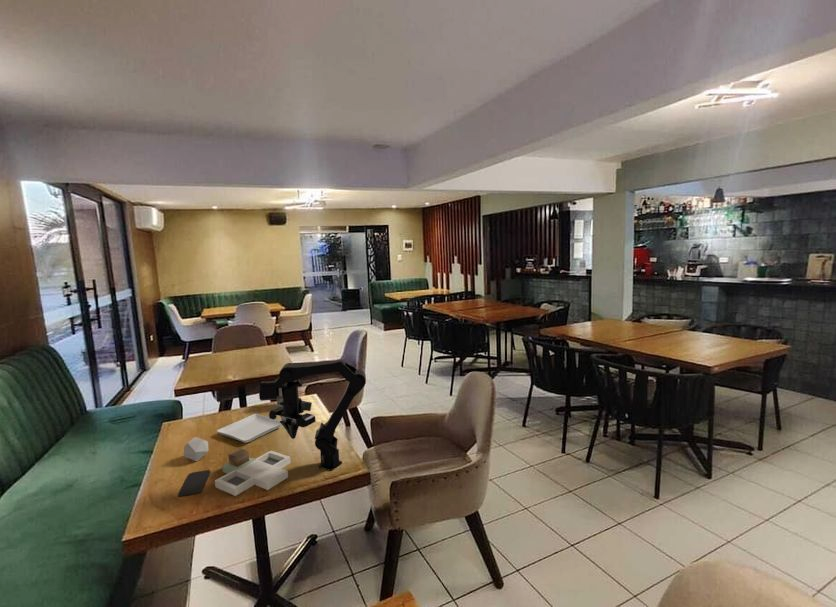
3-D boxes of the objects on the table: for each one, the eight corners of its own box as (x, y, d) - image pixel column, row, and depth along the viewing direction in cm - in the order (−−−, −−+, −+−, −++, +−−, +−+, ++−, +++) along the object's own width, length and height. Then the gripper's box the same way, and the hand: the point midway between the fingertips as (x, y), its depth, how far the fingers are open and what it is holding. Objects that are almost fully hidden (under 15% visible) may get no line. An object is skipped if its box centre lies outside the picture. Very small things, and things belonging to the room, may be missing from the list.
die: (214, 458, 164) (212, 433, 168) (197, 457, 156) (196, 431, 160) (196, 465, 164) (194, 440, 169) (178, 465, 156) (177, 439, 161)
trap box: (303, 467, 153) (303, 461, 153) (248, 502, 133) (248, 494, 132) (259, 452, 166) (259, 446, 165) (203, 481, 145) (202, 475, 145)
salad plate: (245, 447, 171) (244, 440, 171) (215, 437, 182) (215, 429, 182) (285, 428, 189) (285, 421, 188) (256, 419, 200) (255, 413, 199)
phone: (176, 496, 137) (189, 472, 151) (177, 498, 137) (189, 474, 151) (201, 492, 138) (211, 469, 153) (201, 494, 139) (211, 471, 153)
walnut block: (249, 460, 154) (248, 450, 154) (237, 467, 150) (236, 456, 150) (240, 457, 157) (240, 448, 156) (229, 463, 153) (228, 453, 152)
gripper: (324, 395, 151) (327, 434, 153) (289, 387, 160) (292, 425, 162) (302, 405, 141) (305, 447, 143) (266, 396, 151) (269, 436, 153)
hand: (293, 438), depth 151 cm, fingers closed
